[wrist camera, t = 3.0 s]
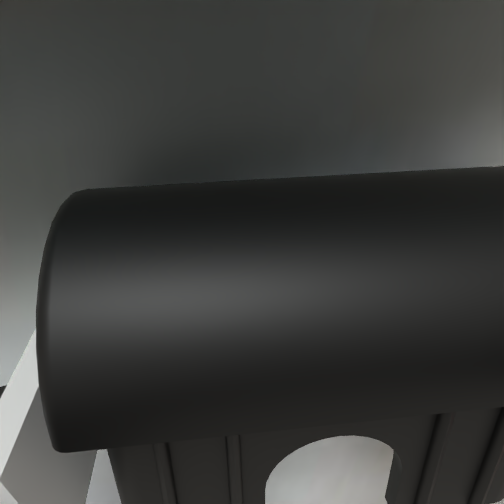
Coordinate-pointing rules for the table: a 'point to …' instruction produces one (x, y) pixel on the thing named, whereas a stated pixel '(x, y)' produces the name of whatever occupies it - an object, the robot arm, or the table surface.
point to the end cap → (279, 331)
